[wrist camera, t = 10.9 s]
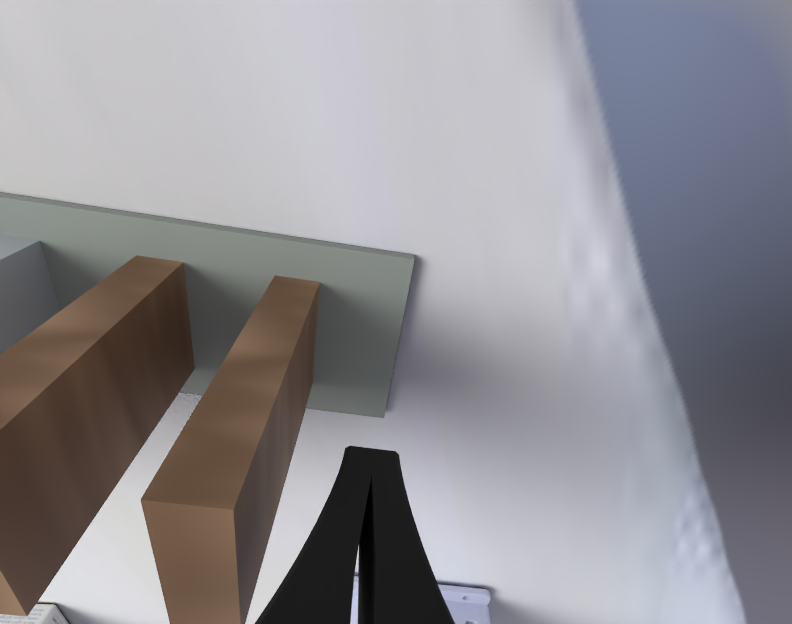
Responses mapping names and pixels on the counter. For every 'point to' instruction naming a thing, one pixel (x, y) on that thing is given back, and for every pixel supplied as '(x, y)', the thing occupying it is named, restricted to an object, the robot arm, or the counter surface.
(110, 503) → the counter surface
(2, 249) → the grey domino
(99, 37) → the counter surface
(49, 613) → the light bulb box
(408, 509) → the robot arm
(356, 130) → the counter surface
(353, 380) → the rubber mat
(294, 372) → the domino
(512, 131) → the counter surface
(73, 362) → the domino
